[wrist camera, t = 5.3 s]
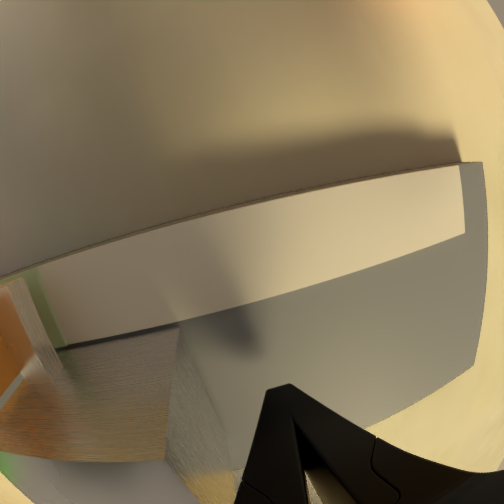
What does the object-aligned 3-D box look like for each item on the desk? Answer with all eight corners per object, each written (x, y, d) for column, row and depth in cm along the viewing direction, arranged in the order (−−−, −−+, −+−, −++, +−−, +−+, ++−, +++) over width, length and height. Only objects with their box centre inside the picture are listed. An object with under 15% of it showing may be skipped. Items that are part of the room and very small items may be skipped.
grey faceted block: (227, 438, 9) (245, 546, 4) (109, 452, 8) (90, 543, 4) (150, 232, 7) (73, 295, 3) (12, 276, 6) (-87, 339, 2)
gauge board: (459, 355, 12) (535, 411, 6) (-13, 448, 9) (-42, 505, 3) (462, 162, 10) (582, 166, 4) (-89, 315, 7) (-146, 355, 1)
